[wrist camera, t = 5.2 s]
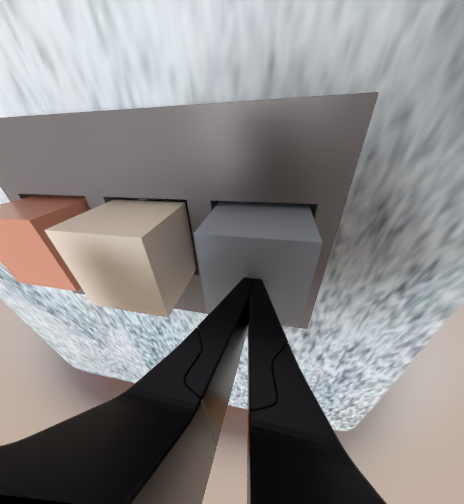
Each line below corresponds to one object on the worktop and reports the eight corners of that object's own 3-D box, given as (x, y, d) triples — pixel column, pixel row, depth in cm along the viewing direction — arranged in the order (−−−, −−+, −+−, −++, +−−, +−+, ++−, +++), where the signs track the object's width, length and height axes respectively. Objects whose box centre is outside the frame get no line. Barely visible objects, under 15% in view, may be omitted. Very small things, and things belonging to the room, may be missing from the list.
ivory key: (185, 202, 11) (140, 237, 8) (196, 268, 14) (168, 317, 10) (113, 199, 12) (44, 230, 9) (137, 261, 15) (92, 304, 11)
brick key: (97, 195, 13) (29, 220, 10) (122, 254, 16) (76, 291, 12) (41, 193, 14) (-40, 215, 11) (74, 249, 17) (18, 282, 13)
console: (352, 101, 9) (378, 91, 7) (303, 299, 17) (307, 329, 14) (13, 122, 13) (-46, 121, 11) (97, 273, 21) (73, 292, 19)
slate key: (307, 202, 10) (322, 242, 7) (294, 272, 13) (300, 327, 10) (220, 199, 11) (193, 233, 8) (225, 265, 14) (206, 312, 11)
